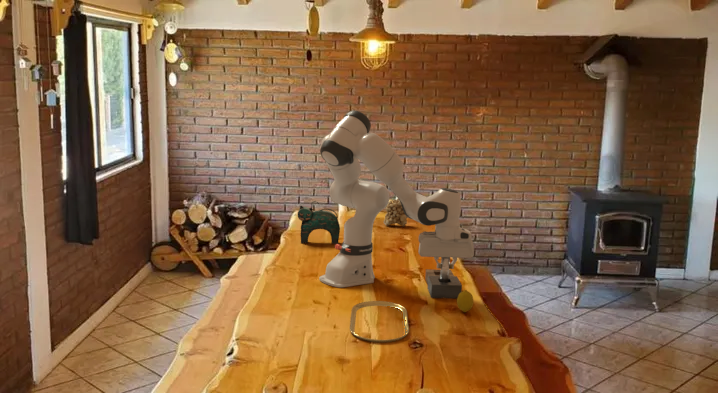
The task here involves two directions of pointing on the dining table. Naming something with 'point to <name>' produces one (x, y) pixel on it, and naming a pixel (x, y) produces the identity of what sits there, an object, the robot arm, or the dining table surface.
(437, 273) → the socket block
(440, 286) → the grey square-hole block
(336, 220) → the ceramic cat
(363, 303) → the rounded metal frame
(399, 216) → the mineral formation
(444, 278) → the steel peg
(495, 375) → the dining table surface
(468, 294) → the lemon
